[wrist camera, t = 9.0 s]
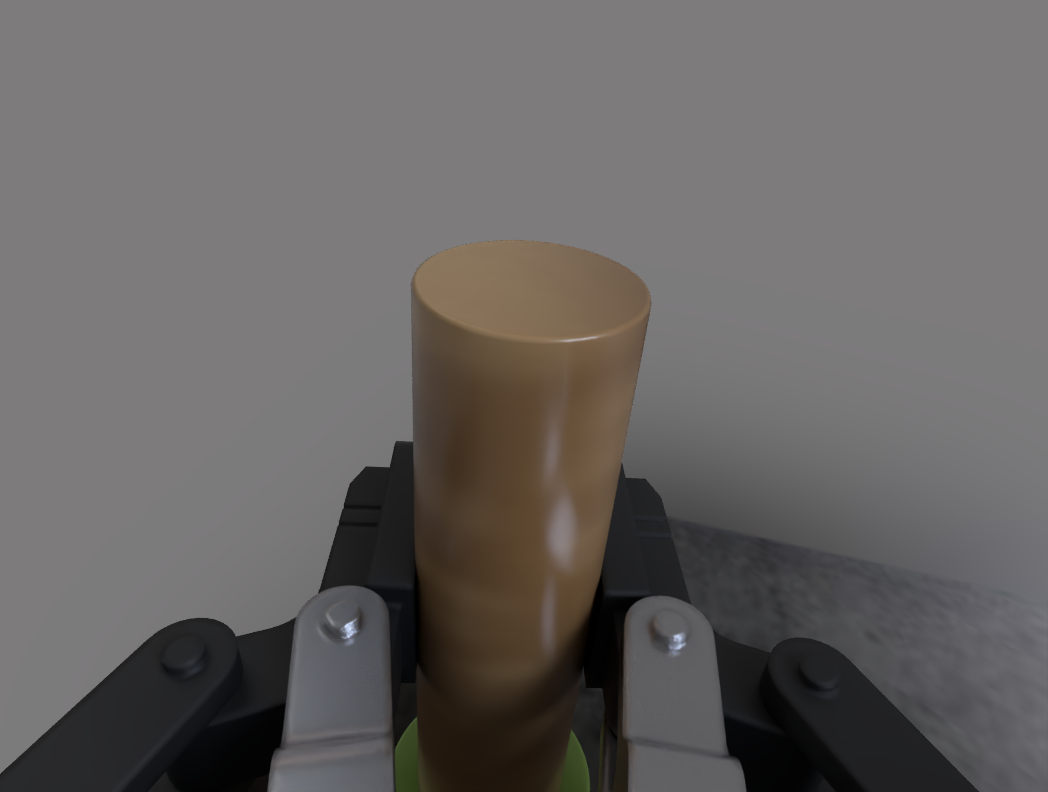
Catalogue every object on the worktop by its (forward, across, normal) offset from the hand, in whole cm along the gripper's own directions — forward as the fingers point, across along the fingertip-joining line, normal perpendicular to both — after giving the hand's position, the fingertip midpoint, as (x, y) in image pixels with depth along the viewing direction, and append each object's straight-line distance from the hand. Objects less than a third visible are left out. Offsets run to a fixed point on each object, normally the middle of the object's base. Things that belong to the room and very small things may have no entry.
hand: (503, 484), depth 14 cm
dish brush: (-3, 0, +8) cm, 8 cm away
